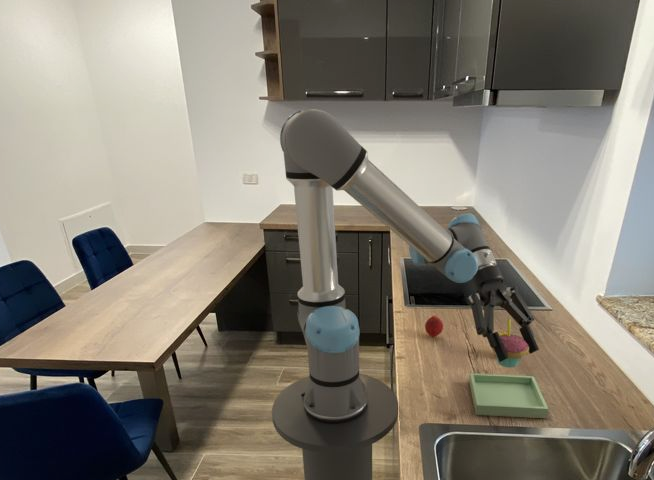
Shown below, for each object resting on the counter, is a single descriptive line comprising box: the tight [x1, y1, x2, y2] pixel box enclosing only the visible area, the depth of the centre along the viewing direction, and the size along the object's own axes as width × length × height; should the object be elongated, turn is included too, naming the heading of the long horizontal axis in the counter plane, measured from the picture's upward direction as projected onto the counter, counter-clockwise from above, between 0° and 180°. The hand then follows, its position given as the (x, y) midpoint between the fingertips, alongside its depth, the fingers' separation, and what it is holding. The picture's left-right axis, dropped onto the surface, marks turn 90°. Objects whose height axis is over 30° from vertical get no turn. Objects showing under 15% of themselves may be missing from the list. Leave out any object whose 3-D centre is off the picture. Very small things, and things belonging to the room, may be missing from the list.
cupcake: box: [491, 316, 529, 369], centre depth 106 cm, size 9×8×12 cm
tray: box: [468, 372, 549, 419], centre depth 112 cm, size 17×15×3 cm
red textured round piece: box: [424, 313, 444, 338], centre depth 143 cm, size 6×6×8 cm
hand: (519, 355), depth 104 cm, fingers closed on cupcake, 8 cm apart
